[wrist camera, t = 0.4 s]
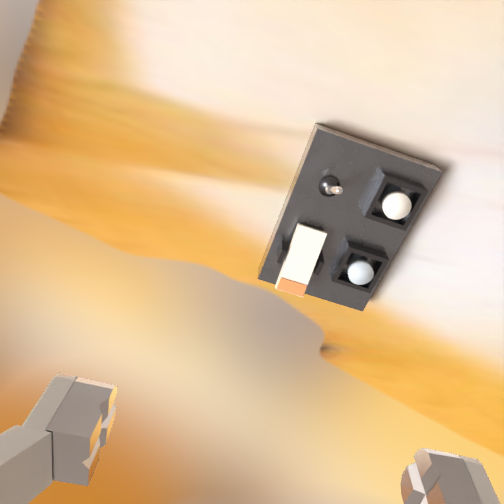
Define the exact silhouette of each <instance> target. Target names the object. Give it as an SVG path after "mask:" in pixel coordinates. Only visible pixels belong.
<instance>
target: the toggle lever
mask: <svg viewBox="0 0 504 504" xmlns="http://www.w3.org/2000/svg"><path fill="white" fill-rule="evenodd" d="M325 192H326V193H327V194H329V195H331V194H341V193H342V192H343V189H342V187H340V186H333V185H327V186H326V188H325Z"/></svg>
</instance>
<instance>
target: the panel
mask: <svg viewBox="0 0 504 504" xmlns="http://www.w3.org/2000/svg"><path fill="white" fill-rule="evenodd" d="M441 174H442V171H441V170H440V169H439V168H437V167H436V166H435V165H434V164H431V163H428V162H425V161H422V160H420V159H417V158H414V157H411V156H408V155H405V154H403V153H400V152H397V151H394V150H391V149H388V148H385V147H383V146H380V145H377V144H374V143H371V142H368V141H366V140H363V139H360V138H357V137H354V136H351V135H348V134H346V133H343V132H340V131H337V130H334V129H331V128H329V127H326V126H323V125H320V124H317V123H315V126H314V128H313V131H312V133H311V136H310V139H309V141H308V144H307V146H306V149H305V151H304V154H303V156H302V159H301V162H300V164H299V167H298V169H297V172H296V174H295V177H294V179H293V182H292V185H291V187H290V190H289V192H288V195H287V197H286V200H285V202H284V205H283V208H282V210H281V213H280V215H279V218H278V220H277V223H276V225H275V228H274V231H273V233H272V236H271V238H270V241H269V243H268V246H267V248H266V251H265V254H264V256H263V259H262V261H261V264H260V266H259V272H258V279H260V280H263V281H266V282H269V283H273V284H276V282H277V279H278V276H279V274H280V271H281V268H282V265H283V263H284V260H285V257H286V254H287V252H288V249H289V246H290V243H291V241H292V238H293V235H294V232H295V229H296V227H297V224H298V223H300V224H303V225H306V226H309V227H312V228H315V229H318V230H321V231H324V232H326V233H327V236H326V238H325V241H324V243H323V246H322V249H321V251H320V254H319V256H318V259H317V262H316V264H315V267H314V270H313V272H312V275H311V277H310V280H309V283H308V285H307V288H306V290H305V294H308V295H311V296H315V297H318V298H321V299H324V300H328V301H331V302H334V303H337V304H341V305H344V306H347V307H350V308H354V309H357V310H360V311H363V310H364V308H365V306H366V305H367V303H368V301H369V299H370V298H371V296H372V294H373V292H374V291H375V289H376V287H377V285H378V284H379V282H380V280H381V278H382V277H383V275H384V273H385V271H386V270H387V268H388V266H389V265H390V263H391V261H392V259H393V258H394V256H395V254H396V252H397V251H398V249H399V247H400V245H401V244H402V242H403V240H404V238H405V237H406V235H407V233H408V231H409V230H410V228H411V226H412V225H413V223H414V221H415V219H416V218H417V216H418V214H419V212H420V211H421V209H422V207H423V205H424V204H425V202H426V200H427V198H428V197H429V195H430V193H431V191H432V190H433V188H434V186H435V184H436V183H437V181H438V179H439V178H440V176H441ZM327 185H333V186H340V187H342V189H343V192H342V193H341V194H331V195H329V194H327V193H326V192H325V188H326V186H327ZM393 191H401V192H403V193H405V194H406V195H407V196H408V198H409V199H410V201H411V210H410V212H409V213H408V214H407V215H406V216H405V217H404V218H401V219H397V220H394V219H390V218H388V217H387V216H386V215H385V213H384V211H383V209H382V200H383V198H384V197H385V196H386V195H387V194H388V193H390V192H393ZM358 259H363V260H366V261H368V262H369V263H370V264H371V266H372V269H373V272H374V275H373V278H372V279H371V281H369V282H368V283H366V284H363V285H357V284H354V283H352V282H351V281H350V279H349V276H348V272H347V269H348V266H349V264H350V263H351V262H353V261H355V260H358Z"/></svg>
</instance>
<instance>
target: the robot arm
mask: <svg viewBox="0 0 504 504" xmlns="http://www.w3.org/2000/svg"><path fill="white" fill-rule="evenodd" d="M116 396H117V386H116V385H112V384H107V383H103V382H99V381H94V380H90V379H86V378H81V377H77V376H72V375H68V374H63V373H58V374H57V375H56V376H55V377H53V379H52V380H51V382H50V383H49V385H48V386H47V388H46V389H45V391H44V393H43V394H42V396H41V397H40V399H39V400H38V402H37V403H36V405H35V406H34V408H33V409H32V411H31V413H30V414H29V416H28V417H27V419H26V420H25V422H24V423H23V425H22V426H18V425H15V426H13V427H11V428H10V429H8V430H6V431H5V432H3V433H2V434H0V504H28V503H29V502H30V501H31V500H33V499H34V498H35V497H36V496H37V495H38V494H40V493H41V492H42V491H43V490H44V489H45V488H47V487H48V486H49V485H50V484H51V483H52V480H54V481H61V482H67V483H73V484H79V485H85V486H88V485H89V483H90V480H91V478H92V475H93V473H94V471H95V468H96V466H97V464H98V461H99V453H100V448H101V447H102V446H104V445H105V444H106V442H107V440H108V437H109V434H110V432H111V428H112V426H113V422H114V418H115V412H116V406H115V405H114V401H115V399H116ZM414 458H415V461H416V462H415V463H413V464H411V465H408V466H407V467H406V469H405V471H404V472H403V475H402V480H401V493H402V498H403V502H404V504H500V502H499V500H498V498H497V495H496V494H495V491H494V489H493V487H492V485H491V483H490V480H489V478H488V476H487V474H486V472H485V470H484V467H483V465H482V463H481V462H480V461H479V460H478V459H474V458H469V457H464V456H460V455H456V454H451V453H446V452H441V451H436V450H431V449H425V448H422V449H419V450H418V451H417V452H416V453H415V455H414Z"/></svg>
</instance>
